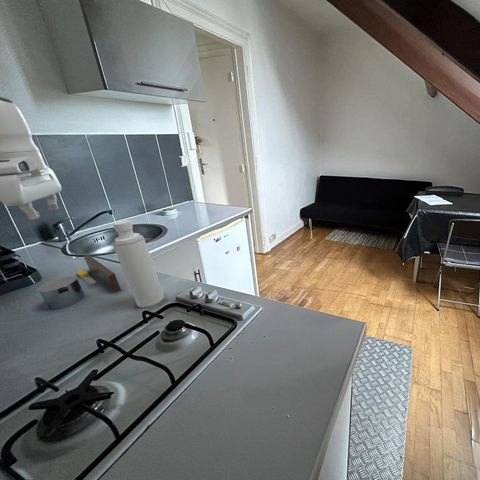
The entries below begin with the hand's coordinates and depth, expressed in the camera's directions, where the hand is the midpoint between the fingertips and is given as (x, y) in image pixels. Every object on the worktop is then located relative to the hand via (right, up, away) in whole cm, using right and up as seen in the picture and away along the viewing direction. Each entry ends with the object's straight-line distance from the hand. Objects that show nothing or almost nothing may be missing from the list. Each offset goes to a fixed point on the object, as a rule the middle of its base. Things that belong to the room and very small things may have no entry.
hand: (45, 214), depth 74 cm
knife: (-2, -20, +15) cm, 25 cm away
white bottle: (+30, -25, 0) cm, 39 cm away
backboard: (+6, -21, +13) cm, 25 cm away
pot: (+4, -25, +2) cm, 26 cm away
